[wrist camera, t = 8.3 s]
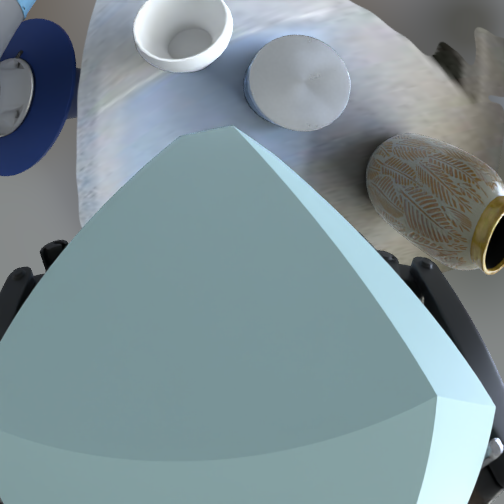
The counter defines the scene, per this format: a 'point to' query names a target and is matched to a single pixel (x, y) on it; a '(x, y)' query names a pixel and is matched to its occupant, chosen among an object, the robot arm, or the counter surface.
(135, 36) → the cup
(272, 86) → the navy round container
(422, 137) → the vase
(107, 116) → the counter surface
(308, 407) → the water bottle
